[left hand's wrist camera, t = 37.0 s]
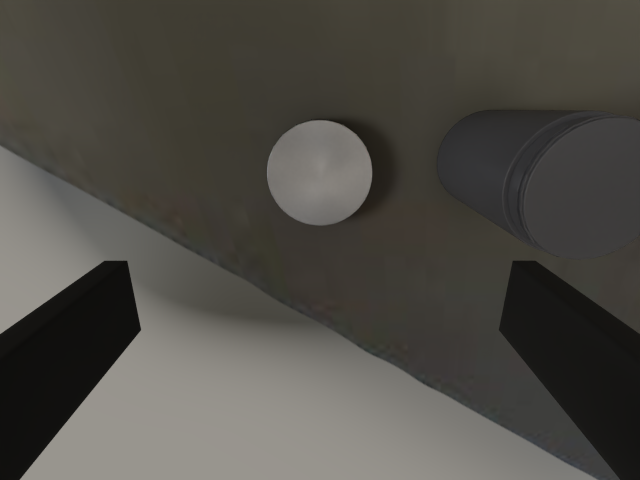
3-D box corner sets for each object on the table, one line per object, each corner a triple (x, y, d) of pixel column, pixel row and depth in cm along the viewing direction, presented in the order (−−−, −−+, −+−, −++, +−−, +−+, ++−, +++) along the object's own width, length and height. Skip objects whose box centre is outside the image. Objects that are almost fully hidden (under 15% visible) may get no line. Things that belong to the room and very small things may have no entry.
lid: (259, 127, 36) (256, 128, 34) (364, 110, 36) (366, 110, 33) (280, 226, 40) (277, 232, 38) (374, 211, 39) (378, 217, 37)
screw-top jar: (501, 89, 35) (644, 73, 20) (545, 166, 37) (701, 205, 22) (419, 150, 37) (490, 180, 22) (466, 220, 39) (559, 290, 24)
